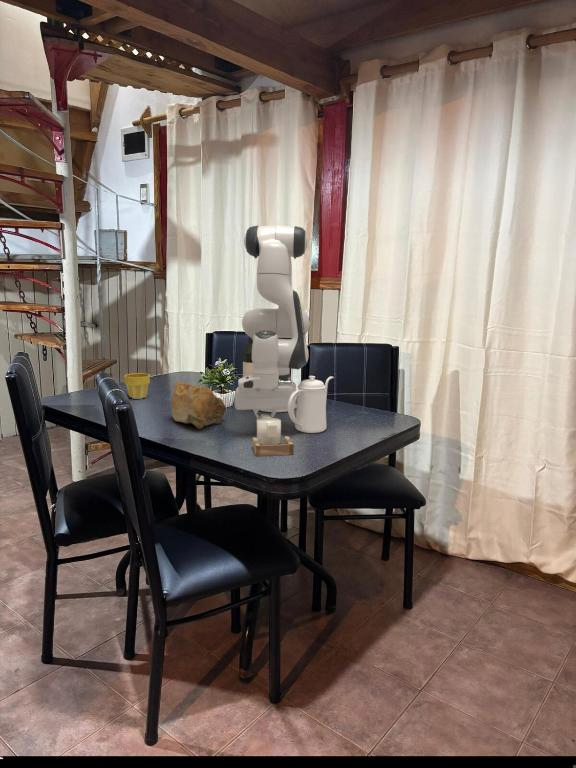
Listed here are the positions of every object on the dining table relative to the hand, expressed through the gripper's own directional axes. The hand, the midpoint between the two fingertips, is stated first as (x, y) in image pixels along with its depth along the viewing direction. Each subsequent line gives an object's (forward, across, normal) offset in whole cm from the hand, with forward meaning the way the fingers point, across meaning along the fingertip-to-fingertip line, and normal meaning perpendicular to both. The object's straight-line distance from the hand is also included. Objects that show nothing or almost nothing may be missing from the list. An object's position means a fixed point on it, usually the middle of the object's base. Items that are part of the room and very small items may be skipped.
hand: (264, 421), depth 191 cm
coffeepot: (+4, -17, -4) cm, 18 cm away
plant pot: (+4, +45, -58) cm, 74 cm away
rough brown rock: (+5, +20, -16) cm, 26 cm away
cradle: (+4, 0, +16) cm, 17 cm away
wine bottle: (+4, -5, -72) cm, 72 cm away
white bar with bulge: (+4, 0, +8) cm, 9 cm away
